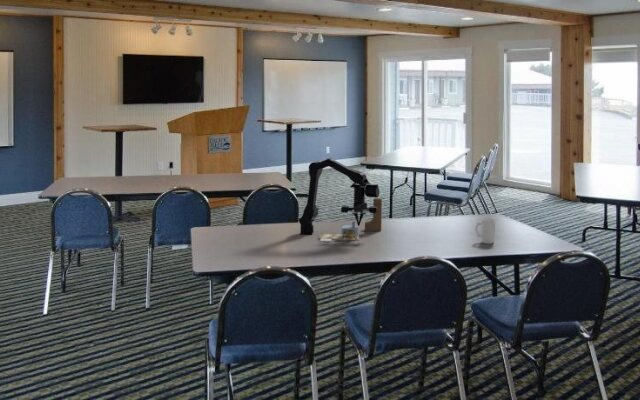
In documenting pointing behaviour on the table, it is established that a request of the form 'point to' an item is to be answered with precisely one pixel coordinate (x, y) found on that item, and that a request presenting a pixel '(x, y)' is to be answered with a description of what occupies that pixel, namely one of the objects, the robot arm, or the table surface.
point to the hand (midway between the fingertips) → (358, 225)
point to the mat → (325, 240)
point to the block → (349, 233)
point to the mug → (486, 230)
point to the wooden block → (375, 217)
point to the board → (336, 237)
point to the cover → (349, 227)
